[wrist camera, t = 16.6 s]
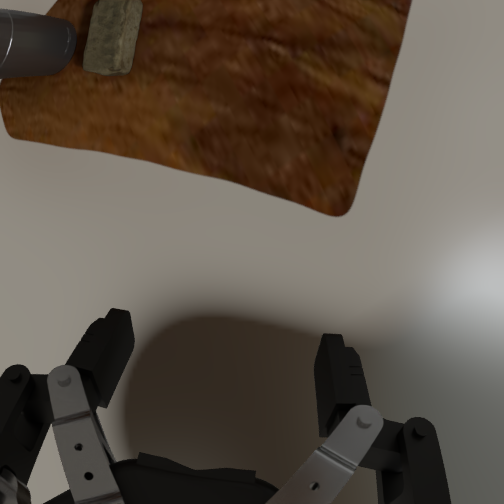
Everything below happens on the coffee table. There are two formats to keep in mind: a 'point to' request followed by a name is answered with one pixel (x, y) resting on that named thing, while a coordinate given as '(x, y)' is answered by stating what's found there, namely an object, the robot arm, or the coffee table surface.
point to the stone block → (112, 37)
